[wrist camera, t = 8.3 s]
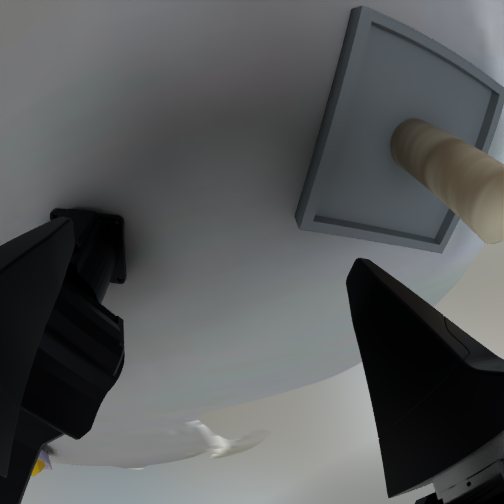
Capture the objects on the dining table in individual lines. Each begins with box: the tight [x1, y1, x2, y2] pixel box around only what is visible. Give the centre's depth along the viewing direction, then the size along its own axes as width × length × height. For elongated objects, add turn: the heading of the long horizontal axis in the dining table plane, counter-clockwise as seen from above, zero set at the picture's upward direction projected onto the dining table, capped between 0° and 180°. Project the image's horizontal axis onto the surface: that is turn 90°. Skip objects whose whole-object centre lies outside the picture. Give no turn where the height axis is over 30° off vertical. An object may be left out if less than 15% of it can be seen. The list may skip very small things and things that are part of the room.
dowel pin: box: [390, 118, 504, 244], centre depth 15 cm, size 4×4×10 cm
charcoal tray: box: [295, 6, 504, 253], centre depth 19 cm, size 16×14×2 cm
